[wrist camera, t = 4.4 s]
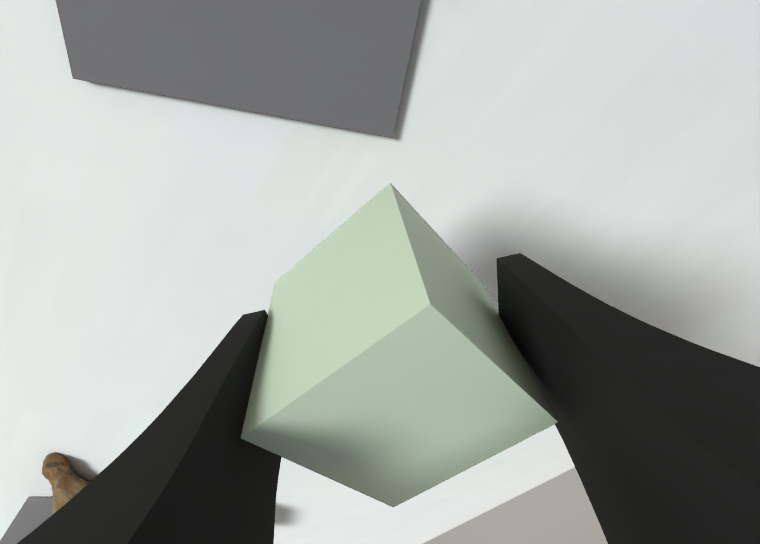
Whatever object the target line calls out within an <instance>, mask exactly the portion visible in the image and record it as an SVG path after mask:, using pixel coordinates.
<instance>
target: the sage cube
mask: <svg viewBox="0 0 760 544" xmlns="http://www.w3.org/2000/svg"><path fill="white" fill-rule="evenodd" d="M556 423H558V421H557V419H556V417H555V416H554V414H553V412H552V410H551V408H550V406H549V405H548V403H547V401H546V399H545V397H544V395H543V394H542V392H541V390H540V388H539V386H538V384H537V383H536V381H535V379H534V377H533V375H532V374H531V372H530V370H529V368H528V366H527V364H526V363H525V361H524V359H523V357H522V355H521V353H520V352H519V350H518V348H517V347H516V345H515V343H514V342H513V340H512V338H511V336H510V334H509V332H508V331H507V329H506V327H505V325H504V323H503V321H502V319H501V318H500V316H499V313H498V311H497V310H496V308H495V306H494V304H493V302H492V301H491V299H490V297H489V295H488V293H487V291H486V290H485V288H484V286H483V284H482V282H481V281H480V280H479V279H478V278H477V277H476V276H475V275H474V273H473V272H472V271H471V270H470V269H469V268H468V267H467V266H466V265H465V264H464V263H463V261H462V260H461V259H460V258H459V257H458V256H457V255H456V254H455V253H454V252H453V251H452V249H451V248H450V247H449V246H448V245H447V244H446V243H445V242H444V241H443V240H442V239H441V237H440V236H439V235H438V234H437V233H436V232H435V231H434V230H433V229H432V228H431V227H430V225H429V224H428V223H427V222H426V221H425V220H424V219H423V218H422V217H421V216H420V215H419V213H418V212H417V211H416V210H415V209H414V208H413V207H412V206H411V205H410V204H409V203H408V201H407V200H406V199H405V198H404V197H403V196H402V195H401V194H400V193H399V192H398V191H397V189H396V188H395V187H394V186H393V185H392V184H391V183H389V184H388V185H387V186H386V187H385V188H383V189H382V190H381V191H380V192H379V193H378V194H377V195H375V196H374V197H373V198H372V199H371V200H370V201H368V202H367V203H366V204H365V205H364V206H363V207H362V208H360V209H359V210H358V211H357V212H356V213H355V214H353V215H352V216H351V217H350V218H349V219H348V220H347V221H345V222H344V223H343V224H342V225H341V226H340V227H338V228H337V229H336V230H335V231H334V232H333V233H332V234H330V235H329V236H328V237H327V238H326V239H325V240H323V241H322V242H321V243H320V244H319V245H318V246H317V247H315V248H314V249H313V250H312V251H311V252H310V253H308V254H307V255H306V256H305V257H304V258H303V259H302V260H300V261H299V262H298V263H297V264H296V265H295V266H294V267H292V268H291V269H290V270H289V271H288V272H287V273H285V274H284V275H283V276H282V277H281V278H280V279H279V280H277V281H276V282H275V285H274V289H273V294H272V298H271V303H270V307H269V312H268V318H267V322H266V327H265V331H264V335H263V339H262V344H261V348H260V353H259V357H258V362H257V366H256V371H255V375H254V380H253V384H252V389H251V393H250V398H249V402H248V407H247V411H246V416H245V421H244V425H243V430H242V434H241V439H244V440H246V441H248V442H250V443H252V444H255V445H257V446H259V447H261V448H263V449H266V450H268V451H270V452H272V453H275V454H277V455H279V456H281V457H283V458H286V459H288V460H290V461H292V462H294V463H297V464H299V465H301V466H303V467H305V468H308V469H310V470H312V471H314V472H317V473H319V474H321V475H323V476H325V477H328V478H330V479H332V480H334V481H336V482H339V483H341V484H343V485H345V486H347V487H350V488H352V489H354V490H356V491H358V492H361V493H363V494H365V495H367V496H370V497H372V498H374V499H376V500H378V501H381V502H383V503H385V504H387V505H389V506H392V507H395V506H397V505H399V504H401V503H403V502H405V501H407V500H408V499H410V498H412V497H414V496H416V495H418V494H420V493H422V492H424V491H426V490H428V489H430V488H432V487H434V486H436V485H438V484H439V483H441V482H443V481H445V480H447V479H449V478H451V477H453V476H455V475H457V474H459V473H461V472H463V471H465V470H467V469H469V468H470V467H472V466H474V465H476V464H478V463H480V462H482V461H484V460H486V459H488V458H490V457H492V456H494V455H496V454H498V453H500V452H501V451H503V450H505V449H507V448H509V447H511V446H513V445H515V444H517V443H519V442H521V441H523V440H525V439H527V438H529V437H531V436H532V435H534V434H536V433H538V432H540V431H542V430H544V429H546V428H548V427H550V426H552V425H554V424H556Z"/></svg>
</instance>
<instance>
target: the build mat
mask: <svg viewBox="0 0 760 544" xmlns="http://www.w3.org/2000/svg"><path fill="white" fill-rule="evenodd" d="M56 3H57V8H58V13H59V17H60V22H61V26H62V31H63V35H64V40H65V44H66V49H67V54H68V58H69V63H70V67H71V72H72V76H73V79H78V80H83V81H89V82H94V83H99V84H105V85H110V86H116V87H121V88H127V89H132V90H137V91H143V92H148V93H154V94H159V95H164V96H170V97H175V98H181V99H186V100H192V101H197V102H202V103H208V104H213V105H219V106H224V107H229V108H235V109H240V110H246V111H251V112H256V113H262V114H267V115H273V116H278V117H284V118H289V119H294V120H300V121H305V122H311V123H316V124H321V125H327V126H332V127H338V128H343V129H349V130H354V131H359V132H365V133H370V134H376V135H381V136H386V137H393V133H394V128H395V123H396V119H397V114H398V109H399V104H400V100H401V95H402V90H403V86H404V81H405V76H406V71H407V67H408V62H409V57H410V52H411V48H412V43H413V38H414V34H415V29H416V24H417V19H418V15H419V10H420V5H421V0H56Z"/></svg>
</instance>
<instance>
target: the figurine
mask: <svg viewBox="0 0 760 544" xmlns="http://www.w3.org/2000/svg"><path fill="white" fill-rule="evenodd" d="M42 474H43V475H44V476H45V478H46V479H48V480H49V482H50V483H51V485H52V491H53V501H52V513H51V516H52V515H53V514H54V513H55V512H56V511H58V510H59V509H60V508H61V507H62V506H64V505H65V504H66V503H67V502H68V501H69V500H71V499H72V498H73V497H74V496H75V495H76V494H77V493H78V492H80V491H81V490H82V489H83V488H84V487H85V486H86V485H87V484H88V483H90V482H88V481H86V480H84V479H82V478H80V477H78V476H77V475H75V474H74V473H73V471H72V469H71V468H70V466H69V461H68V460H67V459H66V457H64V456H63V455H60V454H58V453H51V454H49V455H47V456H46V458H45V459H44V461H43V468H42Z"/></svg>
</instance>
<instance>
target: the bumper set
mask: <svg viewBox="0 0 760 544" xmlns="http://www.w3.org/2000/svg"><path fill="white" fill-rule="evenodd" d="M52 501H53V497H28V499H27V500H26V502H25V503H24V505H23V506H22V508H21V510H20V511H19V513H18V514H17V516H16V517H15V519H14V520H13V522H12V523H11V525H10V527H9V528H8V530H7V531H6V533H5V534H4V536H3V537H2V539H1V540H0V544H17V543H18V542H19V541H21V540H22V539H23V538H24V537H26V536H27V535H28V534H29V533H31V532H32V531H33V530H35V529H36V528H37V527H38V526H39V525H41V524H42V523H43V522H44V521H45V520H47V519H48V518H49V517H50V516H51V513H52Z"/></svg>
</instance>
